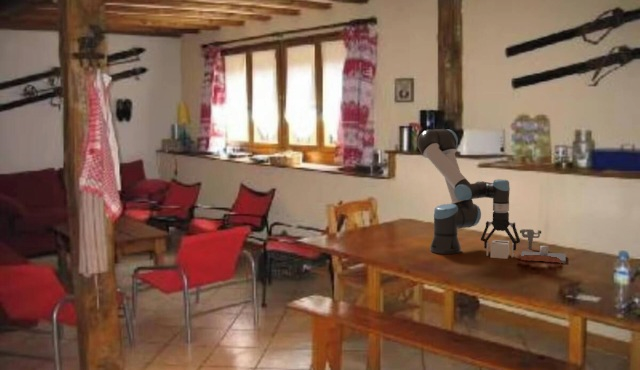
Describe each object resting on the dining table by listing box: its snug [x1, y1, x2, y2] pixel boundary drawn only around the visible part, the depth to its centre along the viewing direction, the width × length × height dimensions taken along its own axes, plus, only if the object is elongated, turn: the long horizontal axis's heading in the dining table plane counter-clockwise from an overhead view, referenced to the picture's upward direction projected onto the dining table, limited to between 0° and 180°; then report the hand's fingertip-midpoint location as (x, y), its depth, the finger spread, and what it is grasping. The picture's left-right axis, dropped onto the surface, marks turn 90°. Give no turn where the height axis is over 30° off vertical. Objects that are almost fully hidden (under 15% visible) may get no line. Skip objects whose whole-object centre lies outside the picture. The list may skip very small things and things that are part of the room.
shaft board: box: [520, 245, 567, 265], centre depth 306 cm, size 20×14×6 cm
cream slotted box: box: [490, 239, 510, 259], centre depth 312 cm, size 8×8×7 cm
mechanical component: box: [519, 228, 542, 250], centre depth 326 cm, size 3×10×10 cm, turn 78°
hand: (499, 255), depth 313 cm, fingers open, 11 cm apart
